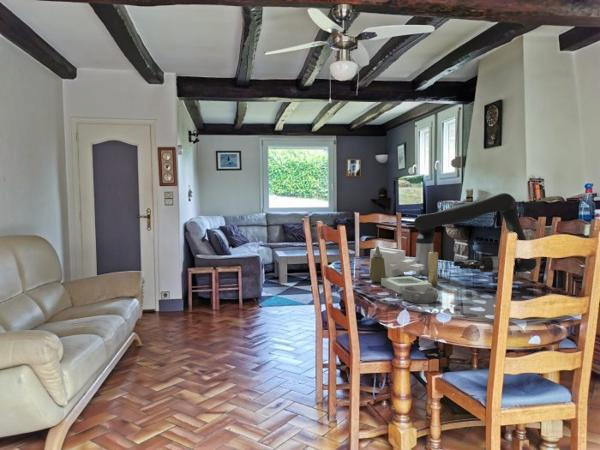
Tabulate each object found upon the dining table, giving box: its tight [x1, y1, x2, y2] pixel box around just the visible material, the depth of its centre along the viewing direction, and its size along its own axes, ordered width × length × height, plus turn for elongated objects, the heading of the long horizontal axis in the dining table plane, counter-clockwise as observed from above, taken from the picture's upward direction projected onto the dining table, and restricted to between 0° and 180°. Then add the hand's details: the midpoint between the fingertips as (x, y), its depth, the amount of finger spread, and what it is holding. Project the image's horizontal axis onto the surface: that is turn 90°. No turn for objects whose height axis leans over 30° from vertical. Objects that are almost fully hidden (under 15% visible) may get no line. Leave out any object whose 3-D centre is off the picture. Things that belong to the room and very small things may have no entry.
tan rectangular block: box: [427, 251, 439, 287], centre depth 206 cm, size 4×4×16 cm
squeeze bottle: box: [369, 245, 386, 283], centre depth 217 cm, size 8×8×18 cm
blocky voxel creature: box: [368, 246, 425, 278], centre depth 233 cm, size 15×25×28 cm
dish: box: [401, 286, 439, 304], centre depth 177 cm, size 14×14×5 cm
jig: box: [380, 276, 433, 295], centre depth 200 cm, size 20×16×4 cm
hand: (456, 265), depth 205 cm, fingers open, 8 cm apart
